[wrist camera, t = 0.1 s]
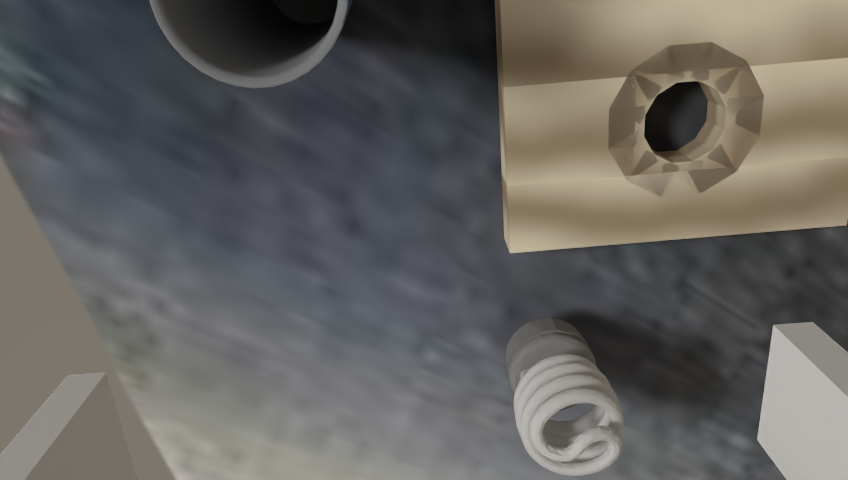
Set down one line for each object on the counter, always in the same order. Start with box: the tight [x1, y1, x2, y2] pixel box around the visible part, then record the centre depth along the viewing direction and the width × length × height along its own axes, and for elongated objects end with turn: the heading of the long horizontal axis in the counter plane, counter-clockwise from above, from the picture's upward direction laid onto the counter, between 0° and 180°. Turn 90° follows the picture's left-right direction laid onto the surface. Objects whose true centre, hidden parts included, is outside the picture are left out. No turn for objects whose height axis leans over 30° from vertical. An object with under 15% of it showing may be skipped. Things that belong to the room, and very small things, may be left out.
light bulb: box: [506, 318, 624, 476], centre depth 39 cm, size 6×6×12 cm
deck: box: [495, 0, 848, 253], centre depth 36 cm, size 24×20×2 cm
